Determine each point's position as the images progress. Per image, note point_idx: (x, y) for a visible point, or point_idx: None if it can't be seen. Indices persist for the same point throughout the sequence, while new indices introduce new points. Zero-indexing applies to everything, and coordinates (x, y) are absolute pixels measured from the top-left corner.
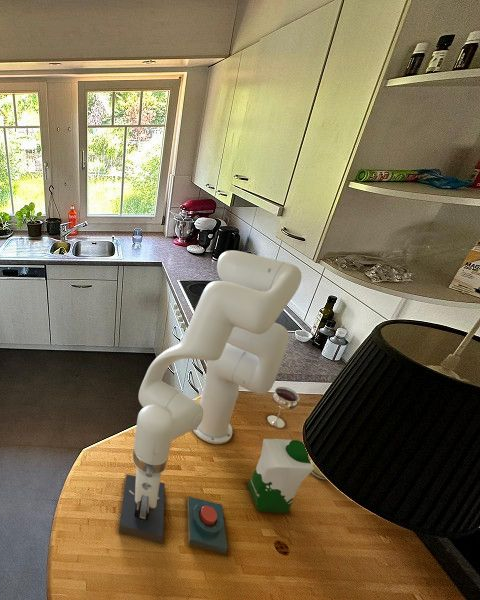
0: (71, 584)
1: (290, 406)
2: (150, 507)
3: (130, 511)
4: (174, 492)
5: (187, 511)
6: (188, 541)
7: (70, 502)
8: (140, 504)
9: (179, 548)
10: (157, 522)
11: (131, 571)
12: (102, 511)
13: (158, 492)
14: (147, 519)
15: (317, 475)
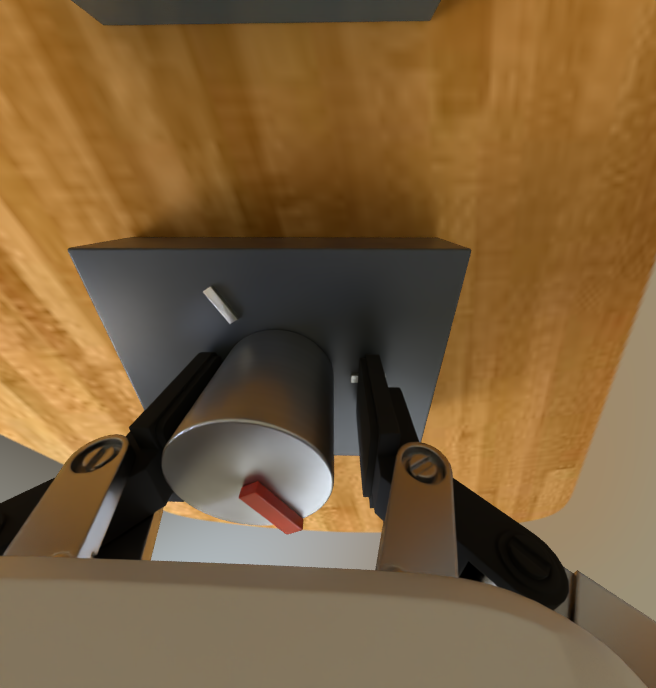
0: (551, 494)
1: None
2: (310, 357)
3: (346, 425)
4: (99, 153)
5: (185, 23)
6: (414, 19)
7: (338, 523)
8: (381, 514)
9: (458, 110)
10: (378, 291)
11: (545, 361)
12: (342, 461)
13: (169, 293)
14: (378, 356)
15: None
